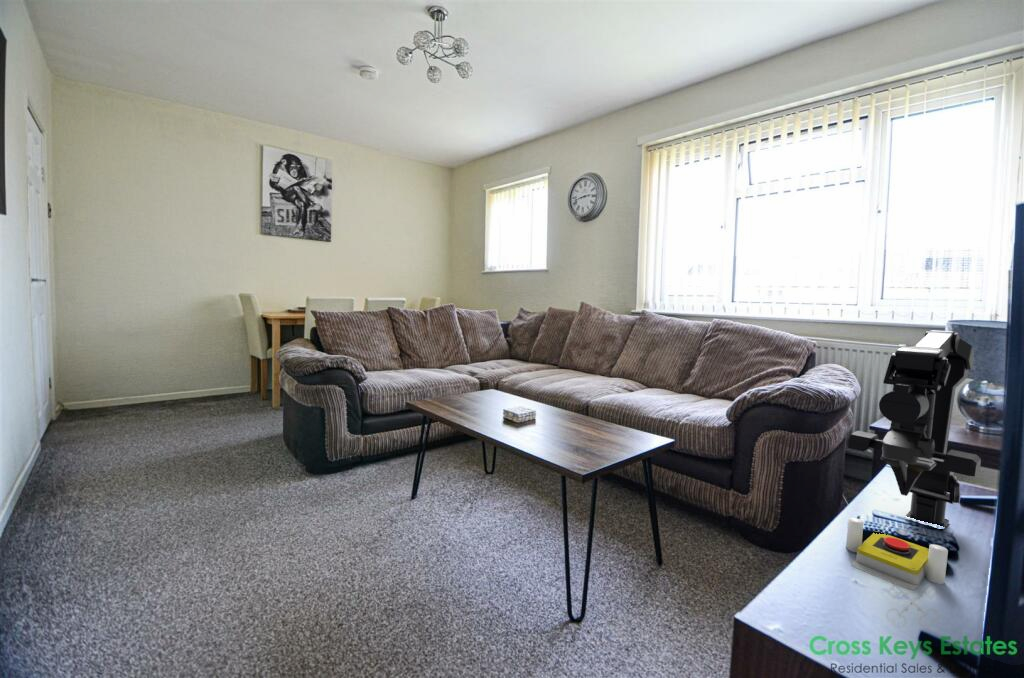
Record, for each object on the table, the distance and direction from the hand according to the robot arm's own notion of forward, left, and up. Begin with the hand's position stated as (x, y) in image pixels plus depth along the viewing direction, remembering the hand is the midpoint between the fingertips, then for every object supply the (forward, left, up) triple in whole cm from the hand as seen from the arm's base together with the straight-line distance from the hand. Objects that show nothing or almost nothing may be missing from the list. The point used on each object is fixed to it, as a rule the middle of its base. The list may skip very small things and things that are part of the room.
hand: (904, 494), depth 88 cm
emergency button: (+4, 0, -13) cm, 14 cm away
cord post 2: (+4, +6, -13) cm, 14 cm away
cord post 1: (+4, -6, -13) cm, 14 cm away
